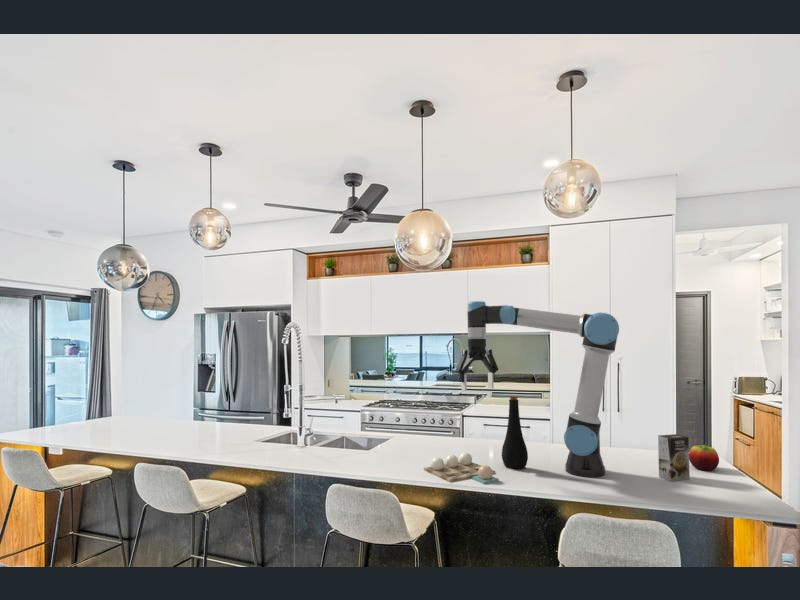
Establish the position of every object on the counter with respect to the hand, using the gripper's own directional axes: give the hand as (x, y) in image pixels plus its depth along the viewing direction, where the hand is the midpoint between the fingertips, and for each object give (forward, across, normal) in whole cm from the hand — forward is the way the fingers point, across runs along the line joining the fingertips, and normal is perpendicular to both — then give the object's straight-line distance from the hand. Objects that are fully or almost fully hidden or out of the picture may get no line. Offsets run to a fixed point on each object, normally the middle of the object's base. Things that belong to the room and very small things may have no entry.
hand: (477, 389), depth 207 cm
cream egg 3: (+32, +4, -3) cm, 32 cm away
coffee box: (+33, -60, +45) cm, 82 cm away
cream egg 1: (+32, +18, -2) cm, 37 cm away
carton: (+33, +11, +2) cm, 35 cm away
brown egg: (+32, +9, +16) cm, 37 cm away
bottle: (+33, -13, +7) cm, 36 cm away
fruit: (+33, -82, +43) cm, 98 cm away
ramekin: (+33, +9, +16) cm, 38 cm away
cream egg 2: (+32, +12, -3) cm, 34 cm away
